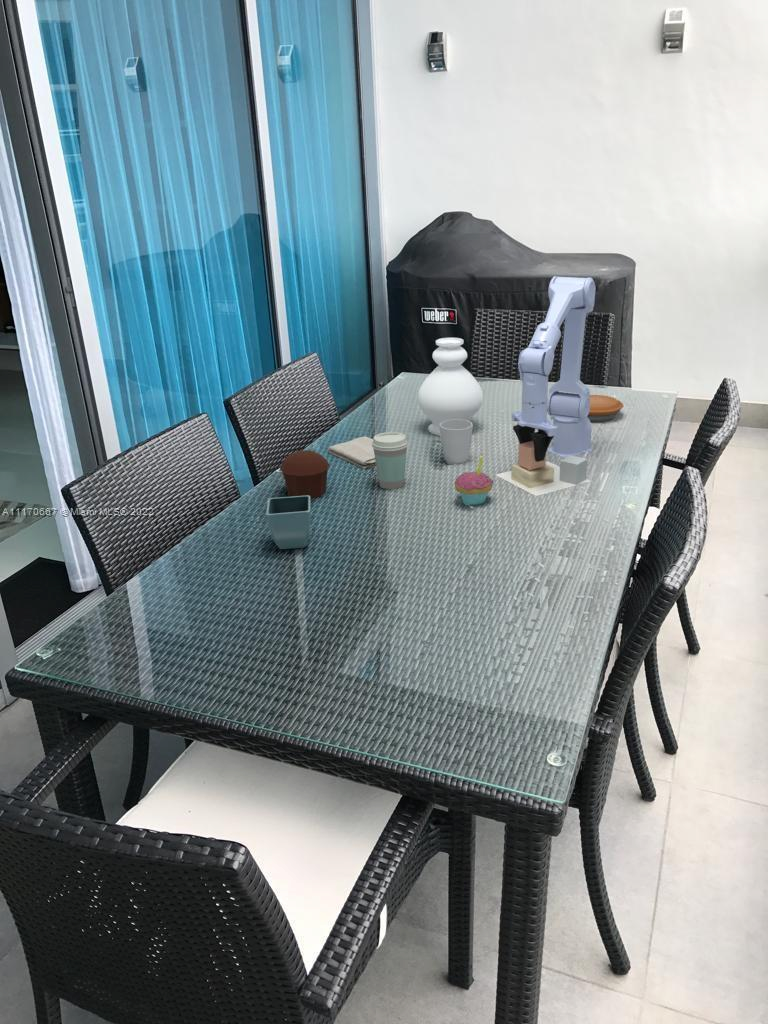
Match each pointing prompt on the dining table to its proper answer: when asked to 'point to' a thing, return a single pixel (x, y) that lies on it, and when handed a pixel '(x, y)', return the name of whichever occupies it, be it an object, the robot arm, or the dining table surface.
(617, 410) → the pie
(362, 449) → the washcloth
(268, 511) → the flower pot
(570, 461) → the grey block
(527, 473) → the maple block
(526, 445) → the terracotta block
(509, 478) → the board
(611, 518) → the dining table surface
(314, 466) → the muffin
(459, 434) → the cup
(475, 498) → the cupcake
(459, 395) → the decorative vase
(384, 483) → the coffee cup
